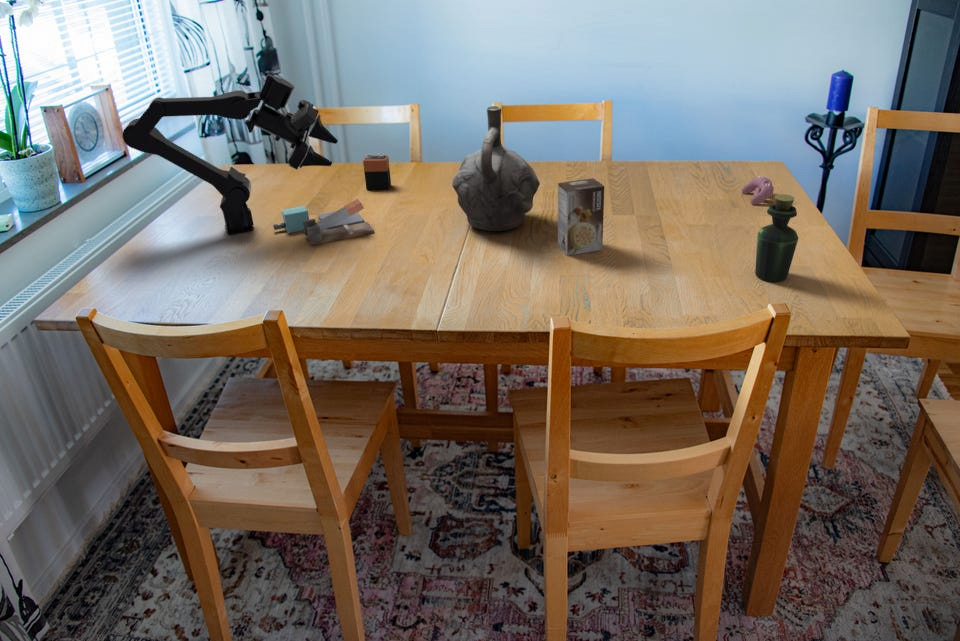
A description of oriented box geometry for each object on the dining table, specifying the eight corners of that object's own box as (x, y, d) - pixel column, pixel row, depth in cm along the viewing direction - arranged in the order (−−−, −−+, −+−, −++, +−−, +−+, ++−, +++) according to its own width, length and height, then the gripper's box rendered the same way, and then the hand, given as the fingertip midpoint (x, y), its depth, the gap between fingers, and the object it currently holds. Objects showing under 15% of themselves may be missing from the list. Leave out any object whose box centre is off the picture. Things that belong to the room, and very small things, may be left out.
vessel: (548, 241, 183) (549, 118, 168) (458, 248, 181) (451, 124, 166) (532, 205, 204) (531, 93, 189) (451, 211, 202) (445, 98, 187)
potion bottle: (744, 276, 163) (756, 198, 154) (762, 264, 168) (775, 187, 159) (779, 288, 158) (794, 207, 149) (797, 275, 163) (812, 196, 154)
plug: (276, 235, 193) (272, 217, 190) (273, 230, 196) (269, 212, 194) (310, 228, 196) (307, 210, 193) (307, 223, 199) (304, 205, 197)
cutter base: (310, 245, 186) (307, 229, 184) (305, 237, 191) (302, 220, 189) (374, 232, 192) (372, 216, 189) (367, 224, 196) (365, 209, 194)
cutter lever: (313, 237, 187) (309, 231, 186) (310, 232, 190) (307, 227, 189) (364, 208, 189) (361, 202, 188) (360, 204, 192) (357, 198, 191)
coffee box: (592, 240, 182) (594, 177, 174) (602, 250, 177) (606, 186, 169) (556, 246, 181) (557, 182, 172) (566, 256, 175) (568, 191, 167)
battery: (389, 190, 219) (385, 156, 214) (366, 190, 219) (362, 157, 214) (391, 184, 223) (388, 152, 218) (368, 185, 223) (365, 152, 218)
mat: (327, 231, 194) (326, 227, 193) (318, 218, 202) (318, 214, 201) (364, 223, 197) (364, 220, 197) (354, 211, 205) (354, 207, 205)
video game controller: (764, 211, 198) (780, 188, 195) (749, 204, 198) (765, 181, 194) (753, 197, 207) (768, 175, 204) (739, 191, 206) (754, 168, 203)
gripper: (281, 123, 175) (342, 154, 181) (296, 79, 187) (353, 109, 193) (264, 155, 182) (323, 184, 189) (279, 110, 194) (334, 139, 201)
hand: (334, 153), depth 193 cm, fingers open, 9 cm apart
